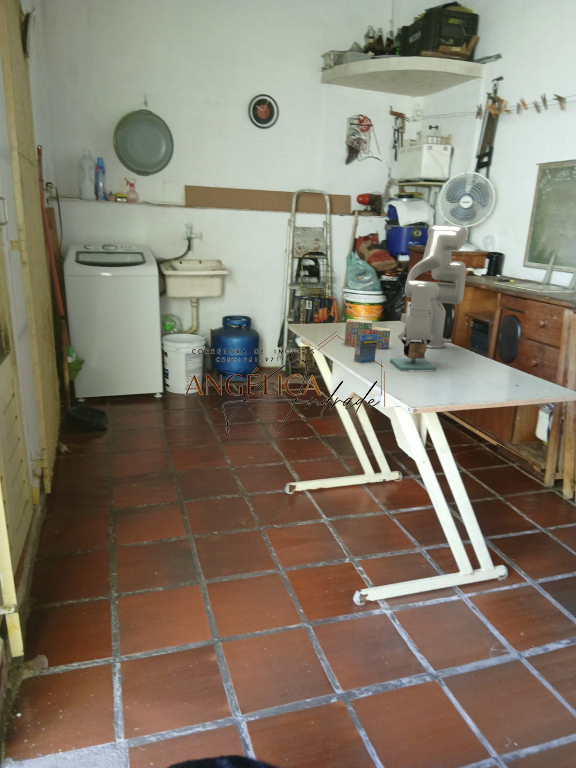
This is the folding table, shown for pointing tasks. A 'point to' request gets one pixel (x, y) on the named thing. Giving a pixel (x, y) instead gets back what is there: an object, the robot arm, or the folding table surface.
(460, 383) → the folding table surface
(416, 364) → the teal flat board
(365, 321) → the stack of blocks
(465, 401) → the folding table surface
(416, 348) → the hollow wooden block
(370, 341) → the label tape box
